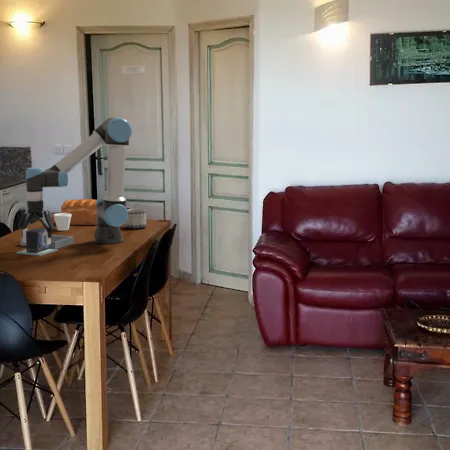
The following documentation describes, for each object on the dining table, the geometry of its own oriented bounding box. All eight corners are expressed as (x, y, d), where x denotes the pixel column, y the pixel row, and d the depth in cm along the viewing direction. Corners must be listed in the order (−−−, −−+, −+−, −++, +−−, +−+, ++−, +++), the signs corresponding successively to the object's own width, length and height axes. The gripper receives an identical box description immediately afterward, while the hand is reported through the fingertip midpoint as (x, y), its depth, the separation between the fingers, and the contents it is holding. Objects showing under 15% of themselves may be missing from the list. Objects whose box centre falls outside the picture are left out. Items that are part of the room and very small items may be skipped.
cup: (55, 232, 374) (54, 216, 373) (53, 229, 383) (52, 213, 382) (73, 231, 378) (72, 215, 376) (70, 228, 387) (69, 212, 386)
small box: (37, 253, 315) (36, 231, 313) (25, 252, 317) (24, 231, 315) (49, 249, 325) (48, 228, 323) (38, 248, 327) (37, 227, 325)
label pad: (58, 250, 325) (58, 249, 325) (39, 255, 312) (39, 254, 312) (34, 247, 330) (34, 247, 330) (16, 253, 317) (16, 252, 317)
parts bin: (73, 243, 342) (73, 236, 342) (55, 248, 328) (55, 242, 327) (40, 240, 350) (39, 233, 350) (20, 245, 336) (20, 238, 336)
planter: (142, 230, 383) (142, 212, 381) (121, 229, 385) (121, 211, 383) (148, 226, 395) (148, 209, 393) (128, 225, 397) (128, 208, 395)
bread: (63, 222, 410) (63, 197, 408) (106, 222, 411) (105, 197, 408) (58, 225, 397) (57, 200, 394) (102, 225, 397) (102, 200, 394)
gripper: (61, 200, 316) (63, 243, 319) (19, 197, 325) (21, 239, 329) (51, 202, 309) (53, 246, 312) (9, 199, 318) (11, 242, 322)
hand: (37, 243), depth 320 cm, fingers open, 13 cm apart
